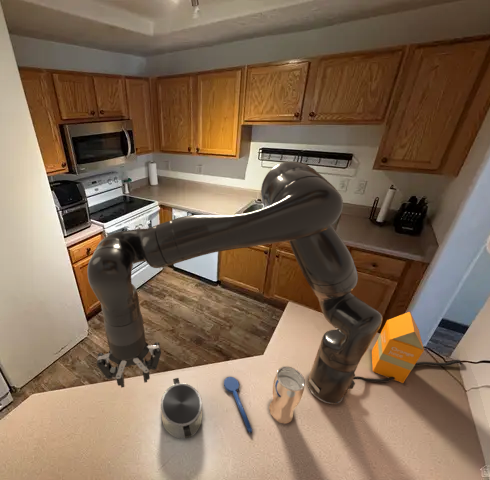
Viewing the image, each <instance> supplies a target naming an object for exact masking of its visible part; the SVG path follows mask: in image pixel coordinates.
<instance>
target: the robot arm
mask: <svg viewBox="0 0 490 480" xmlns="http://www.w3.org/2000/svg"><path fill="white" fill-rule="evenodd" d="M260 197H261V202H262V206H263V208H261V209H257V210H253V211H250V212H246V213H239V214H226V215H225V214H220V215H219V214H190V215H183V216H180V217H177V218H173V219H171V220H167V221H165V222H162V223H159V224H156V225H153V226H151V227H147V228H136V229H129V230H122V231H117V232H114V233H111V234H108V235H106V236H105V237H103V238H102V239H101V240H100V241H99V243H97V245H96V248H95V249H94V252H93V254H92V255H91V257H90V259H89V262H88V264H87V270H86V271H87V273H86V274H87V280H88V284H89V286H90V288H91V290H92V292H93V293H94V295H95V297H96V299H97V301H99V303H100V307H101V312H102V317H103V323H104V324H103V325H104V330H105V335H106V340H107V344H108V348H109V351H108V352H107V353H105V354H104V352H99V353H98V354H97V360H96V366H97V367H98V369H99V370H100V371H101V372H102V374H103V376H105V378H106V379H108V380H111V379H112V378H115V379H116V384H117V386H119V387H120V388H121V389H122V388H125V377H124V371H125V368H127V367H130V366H137V368H139V370H142V376H143V383H144V384H145V383H148V381H149V380H150V379H151V377H150V376H151V375H150V371H151V370H153V371H154V370H156V369H157V368H158V365H159V361H160V358H161V355H162V350H161V344H160V342H159V341H156V342H154V344H150V345H149V344H148V342H147V340H146V333H145V327H144V319H143V314H142V311H141V306H140V305H141V303H140V298H139V297H140V296H139V293H138V289H137V288H136V285H134V284H133V283H132V271H133V268H134V265H135V264H137V263H142V262H146V263H147V265H148V266H149V267H150V268H153V269H161V268H165V267H169V266H172V265H176V264H178V263H183V262H185V261H188V260H191V259H192V260H193V259H195V258H198V257H201V256H205V255H206V256H207V255H209V254H210V255H211V254H214V253H219V252H226V251H232V250H238V249H246V248H252V247H253V248H254V247H259V246H266V245H272V244H279V243H286V242H289V245H290V247H291V251H292V253H293V255H294V258H295V260H296V263H297V265H298V266H299V269H300V272H301V273H302V275H303V277H304V279H305V280H306V282H307V284H308V285H309V287H310V289H311V290H312V292H313V294H314V295H315V296H316V298H317V300H318V302H319V303H318V304H319V306H320V309H321V312H322V316H323V317H324V318H325V320H326V321H327V322H328V323H329V324H330V325H331V326H332V327H333V328H334V329H329V330H327V331H326V332H325V333H323V335H322V337H321V341H320V343H319V346H318V349H317V352H316V355H315V359H314V361H313V364H312V367H311V370H310V372H309V376H308V377H307V380H306V384H307V388H308V390H309V392H310V393H311V394H312V395H313V396H314V398H316V399H317V400H318V401H320V402H321V403H323V404H327V405H331V406H332V405H333V406H334V405H338V404H340V403H342V401H343V399H344V397H345V396H346V395H347V393H348V391H349V390H352V389H354V387H355V384H356V382H355V380H359V381H360V380H362V381H364V382H371V383H373V382H374V383H386V382H390V381H395V380H394V379H395V378H394V377H389V378H388V377H384V378H369V377H368V378H367V377H363V376H356V374H355V372H356V370H357V368H358V366H359V364H360V361H361V360H362V358H363V356H364V355H365V354H366V352H367V351H368V349H369V347H370V345H371V344H372V342H373V340H374V338H375V337H376V335H377V334H378V332H379V330H380V328H381V326H382V324H383V316H382V314H381V312H379V310H377V309H375V308H374V307H373V306H370V305H369V304H368V303H366V302H365V301H364V300H362V299H360V298H359V297H357V296H356V295H354V294H353V293H351V292H353V290H354V289H355V288H356V286H357V283H358V281H359V280H358V279H359V278H358V277H359V276H358V275H359V273H358V271H357V270H358V269H357V267H356V264H355V260H354V258H353V256H352V254H351V252H350V250H349V249H348V247H347V245H346V244H345V242H344V241H343V239H342V238H341V236H340V234H338V232H337V231H336V230H335V228H334V226H333V225H334V224H335V223H337V221H338V220H339V218H340V217H341V214H342V212H343V210H344V209H343V208H344V201H343V198H342V195H341V194H340V192H339V191H338V190H337V188H336V187H335V186H334V185H333V184H332V183H331V182H329V180H328V179H326V178H325V177H324V176H323V175H321V174H320V173H319V172H318V171H317V170H316V169H314V167H312V166H310V165H308V164H305V163H304V162H300V161H294V160H292V161H285V162H280V163H279V164H277V165H275V166H274V167H272V168H271V169H270V170H269V171H268V172H267V173H266V175H265V177H264V179H263V180H262V183H261V188H260ZM149 353H150V359H149V360H148V359H147V358H146V356H147V355H148V354H149ZM110 361H111V362H113V363H114V364H116V365H115V367H113V365H112V364H111V362H110ZM460 361H461V360H460V359H455V360H454V359H453V360H451V361H448V362H432V361H431V362H430V361H417V362H416V364H415V366H414V367H416V366H438V367H444V366H445V367H446V366H451V365H454V364H460V365H462V363H461V362H460ZM459 362H460V363H459Z"/></svg>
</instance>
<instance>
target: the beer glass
mask: <svg viewBox="0 0 490 480" xmlns="http://www.w3.org/2000/svg"><path fill="white" fill-rule="evenodd" d="M305 386H306V380H305V377H304V376H303V374H302V373H301V372H300V371H299V370H298V369H296V368H295V367H292V366H289V365H285V366H284V365H283V366H281V367H279V368H278V369H277V370H276V374H275V377H274V380H273V384H272V401H271V402H270V404H269V412H270V415H271V416H272V418H273V419H274V420H275V421H277V422H278V423H280V424H289V423H291V421H292V420H293V418H294V410H295V408H297V406H298V405H299V404H300V402H301V400H302V398H303V395H304V391H305Z"/></svg>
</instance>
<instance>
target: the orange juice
mask: <svg viewBox="0 0 490 480" xmlns="http://www.w3.org/2000/svg"><path fill="white" fill-rule="evenodd" d="M424 352H425V348H424V344H423V340H422V337H421V334H420V329H419V327H418V325H417V323H416V321H415V319H414V316H413V314H412V313H411V311H408V312H405V313H402V314H400V315H397V316H394V317H392V318H389V319H386V321H385V324H384V325H383V327H382V329H381V331H380V333H379V335H378V337H377V340H376V341H375V343H374V346H373V347H372V349H371V362H372V372H373V373H376V374H378V375H381V376H383V377H385V378H389V377H394V378H395V379H394V380H393V381H397V382H399V383H401V384H404V383H405V381H406V379H407V378H408V376H409V375H410V373H411V372H412V370H413V369H414V368H415V367H416V366H415V364H416V363H417V362H419V359H420V358H421V356H422V354H423V353H424Z"/></svg>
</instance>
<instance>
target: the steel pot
mask: <svg viewBox="0 0 490 480" xmlns="http://www.w3.org/2000/svg"><path fill="white" fill-rule="evenodd" d="M172 381H173V384H172V385H170V386H169V387H168V388H167V389H166V390H165V391H164V393H163V394H162V397H161V400H160V411H161V421H162V425H163V427H164V430H166V432H167V433H168V434H169V435H170V436H172V437H174V438H176V439H189V438H192V436H194V435H195V434H196V433H197V432H198V430H199V429H200V427H201V425H202V421H203V419H202V418H203V399H202V397H201V394H200V392H199V391H198V390H197V389H196V388H195V387H194V386H193V385H190V384H188V383H185V382H184V383H183V382H180V378H179V377H176V378H173V379H172Z"/></svg>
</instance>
